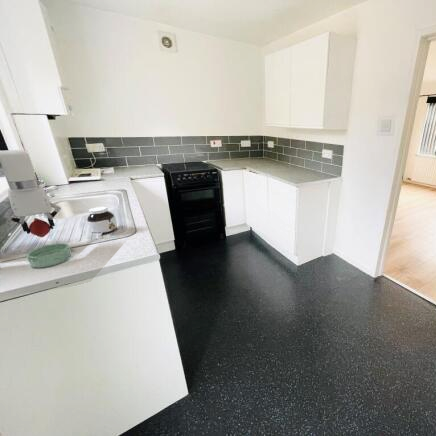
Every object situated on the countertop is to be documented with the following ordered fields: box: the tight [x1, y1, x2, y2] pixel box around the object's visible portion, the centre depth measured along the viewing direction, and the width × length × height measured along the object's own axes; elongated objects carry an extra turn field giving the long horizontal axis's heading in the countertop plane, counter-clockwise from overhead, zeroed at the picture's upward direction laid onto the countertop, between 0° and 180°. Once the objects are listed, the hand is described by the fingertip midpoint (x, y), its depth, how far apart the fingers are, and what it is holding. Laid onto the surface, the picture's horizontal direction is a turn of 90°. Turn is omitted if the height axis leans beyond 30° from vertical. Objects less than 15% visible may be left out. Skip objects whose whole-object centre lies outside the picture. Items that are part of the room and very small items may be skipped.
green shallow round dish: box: [26, 242, 72, 269], centre depth 90 cm, size 11×11×4 cm
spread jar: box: [86, 206, 118, 236], centre depth 116 cm, size 12×11×12 cm
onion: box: [28, 217, 52, 238], centre depth 95 cm, size 6×6×8 cm
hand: (40, 230), depth 96 cm, fingers closed on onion, 5 cm apart
